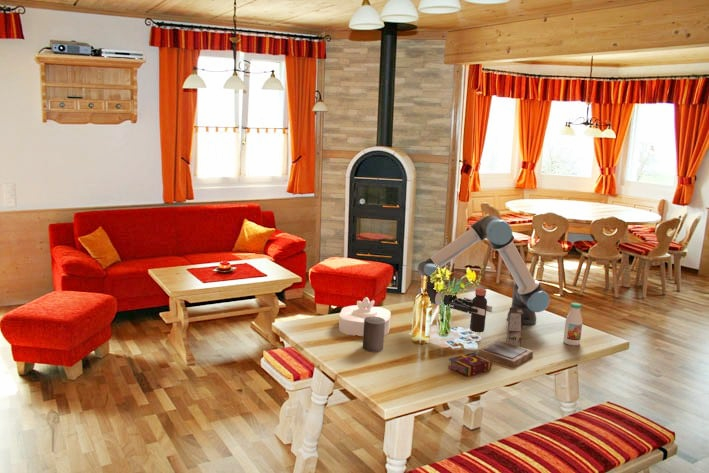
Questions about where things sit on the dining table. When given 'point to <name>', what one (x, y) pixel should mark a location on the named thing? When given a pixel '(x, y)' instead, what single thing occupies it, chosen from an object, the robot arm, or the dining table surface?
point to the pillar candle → (373, 334)
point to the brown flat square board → (505, 353)
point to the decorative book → (470, 364)
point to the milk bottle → (573, 325)
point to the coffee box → (515, 326)
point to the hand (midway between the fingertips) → (488, 311)
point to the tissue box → (361, 317)
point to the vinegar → (476, 319)
